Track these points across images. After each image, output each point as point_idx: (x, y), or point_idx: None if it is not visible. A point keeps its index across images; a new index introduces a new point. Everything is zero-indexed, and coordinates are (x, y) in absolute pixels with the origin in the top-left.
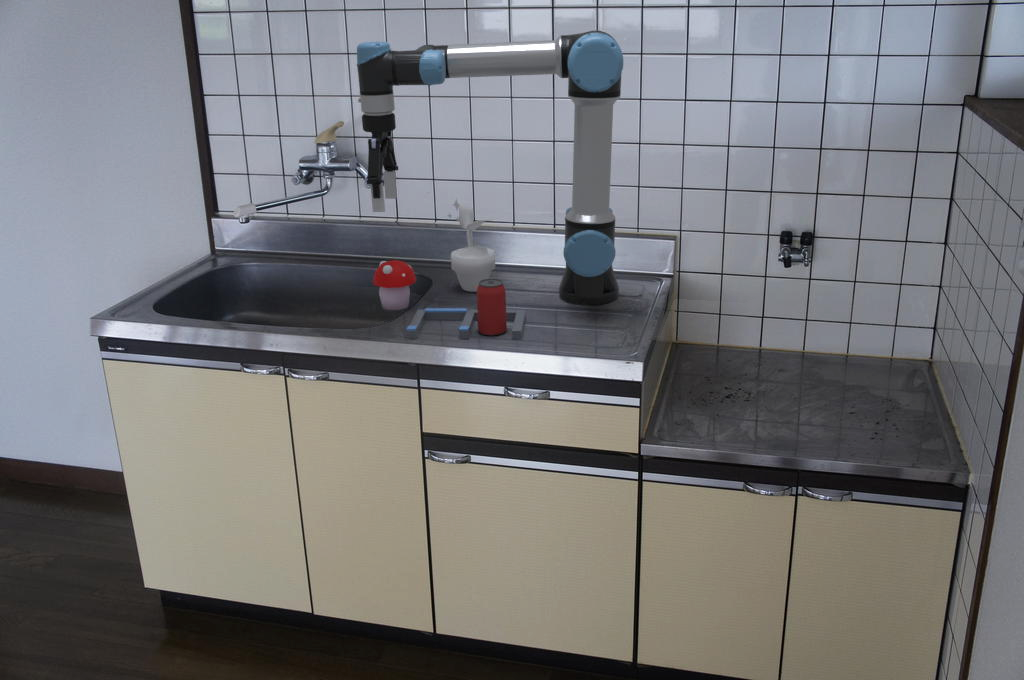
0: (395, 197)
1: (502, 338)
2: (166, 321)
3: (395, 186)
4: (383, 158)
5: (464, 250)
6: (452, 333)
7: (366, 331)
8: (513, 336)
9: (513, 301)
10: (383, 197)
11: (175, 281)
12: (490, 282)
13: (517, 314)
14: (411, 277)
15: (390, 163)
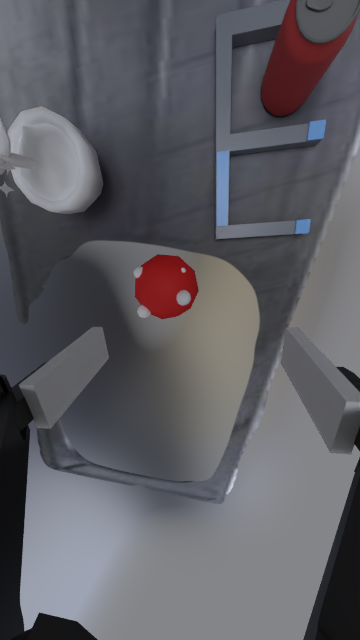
0: (101, 331)
1: None
2: (227, 467)
3: (78, 346)
4: (325, 624)
5: (58, 175)
6: (286, 166)
7: (267, 294)
8: None
9: (132, 86)
10: (322, 354)
11: (127, 480)
12: (320, 3)
13: (243, 28)
14: (172, 259)
15: (10, 439)
